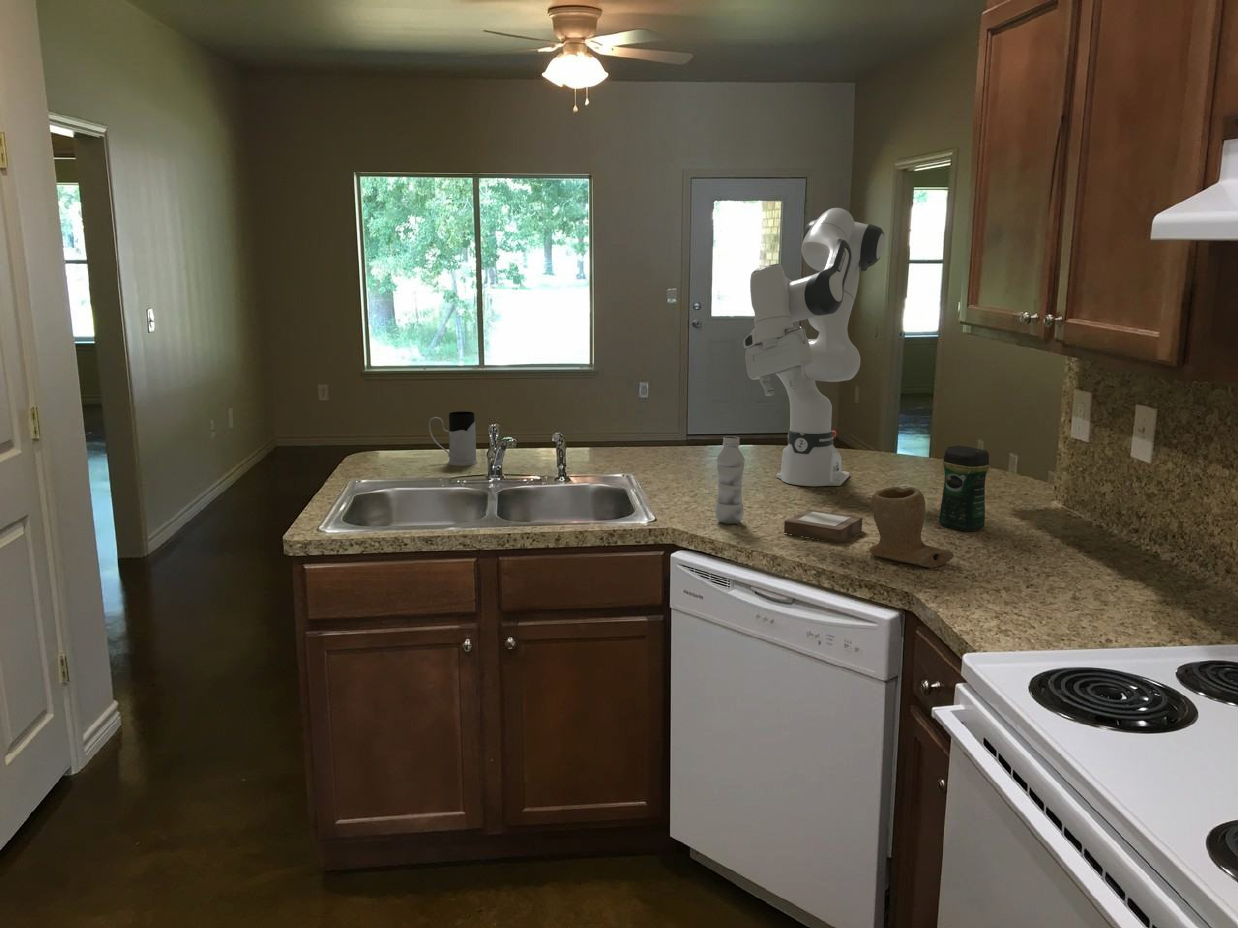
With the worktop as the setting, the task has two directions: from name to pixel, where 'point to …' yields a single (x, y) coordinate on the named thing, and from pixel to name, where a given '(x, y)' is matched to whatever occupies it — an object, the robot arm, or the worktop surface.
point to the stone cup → (903, 528)
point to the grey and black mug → (460, 438)
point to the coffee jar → (964, 488)
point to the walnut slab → (823, 525)
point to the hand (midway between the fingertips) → (782, 391)
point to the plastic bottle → (730, 482)
